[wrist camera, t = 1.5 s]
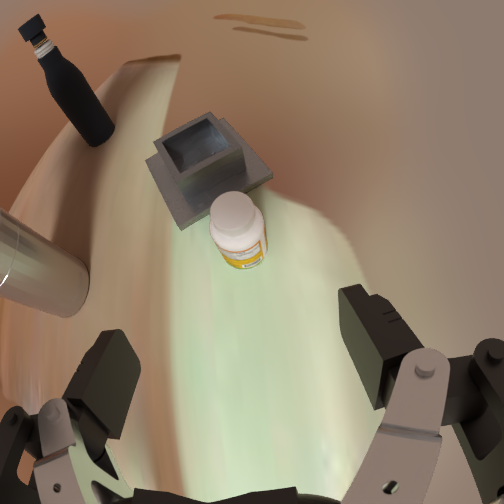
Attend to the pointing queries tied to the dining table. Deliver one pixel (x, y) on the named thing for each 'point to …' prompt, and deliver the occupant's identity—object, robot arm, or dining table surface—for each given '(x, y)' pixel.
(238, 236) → the supplement bottle
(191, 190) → the square socket
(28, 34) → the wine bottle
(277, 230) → the dining table surface
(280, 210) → the dining table surface
